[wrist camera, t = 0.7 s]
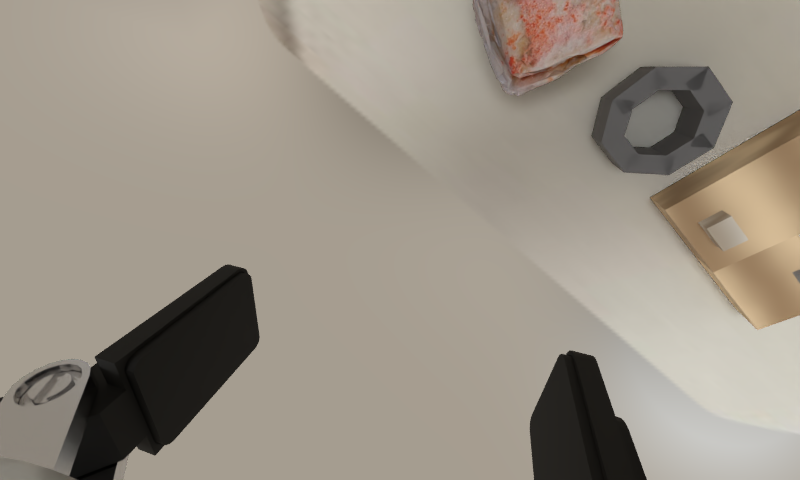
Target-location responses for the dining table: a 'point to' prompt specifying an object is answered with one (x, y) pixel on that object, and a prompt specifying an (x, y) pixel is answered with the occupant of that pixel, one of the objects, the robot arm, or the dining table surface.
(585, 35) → the food item
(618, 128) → the faceted grey ring
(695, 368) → the dining table surface
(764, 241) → the toggle switch panel
